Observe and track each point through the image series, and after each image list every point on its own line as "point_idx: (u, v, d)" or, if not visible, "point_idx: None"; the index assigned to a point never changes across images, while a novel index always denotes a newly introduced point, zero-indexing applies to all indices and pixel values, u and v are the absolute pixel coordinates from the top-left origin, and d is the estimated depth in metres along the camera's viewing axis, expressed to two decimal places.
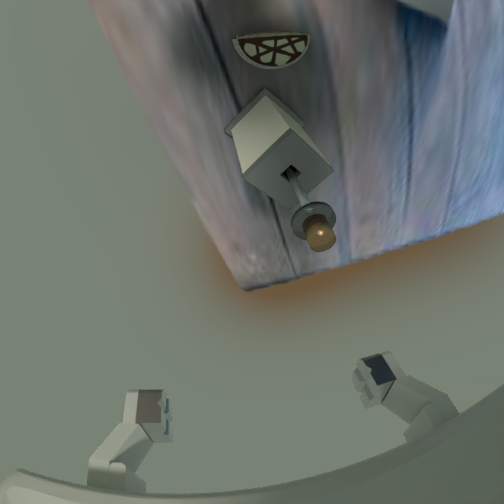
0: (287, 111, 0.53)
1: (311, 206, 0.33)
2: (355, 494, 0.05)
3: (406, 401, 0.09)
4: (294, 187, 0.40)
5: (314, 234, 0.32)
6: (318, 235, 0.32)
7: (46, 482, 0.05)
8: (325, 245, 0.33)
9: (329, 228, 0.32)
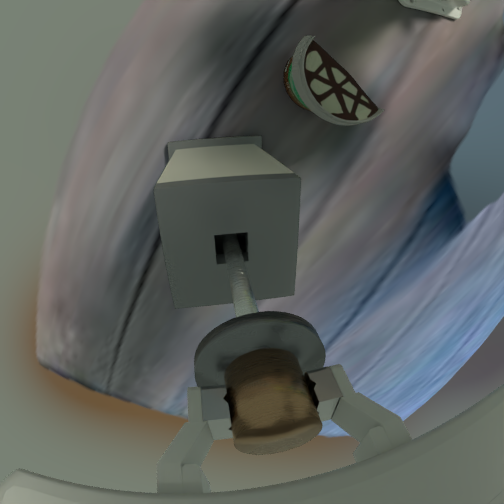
0: None
1: (299, 326, 0.11)
2: (355, 494, 0.05)
3: (354, 420, 0.09)
4: (235, 270, 0.18)
5: (281, 410, 0.08)
6: (293, 420, 0.08)
7: (46, 482, 0.05)
8: (274, 446, 0.09)
9: (316, 409, 0.09)
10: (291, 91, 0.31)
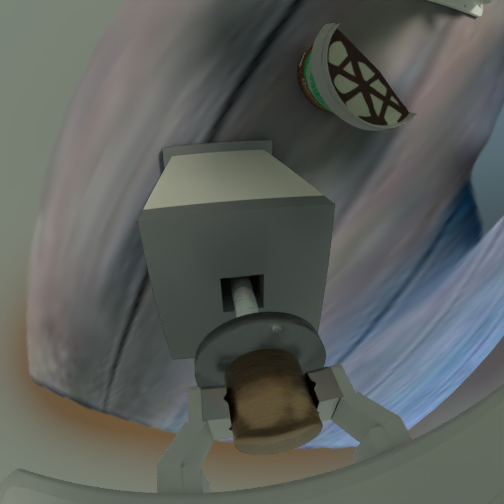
0: None
1: (299, 326, 0.11)
2: (355, 494, 0.05)
3: (355, 420, 0.09)
4: None
5: (281, 410, 0.08)
6: (293, 420, 0.08)
7: (46, 482, 0.05)
8: (274, 446, 0.09)
9: (316, 409, 0.09)
10: (307, 88, 0.26)
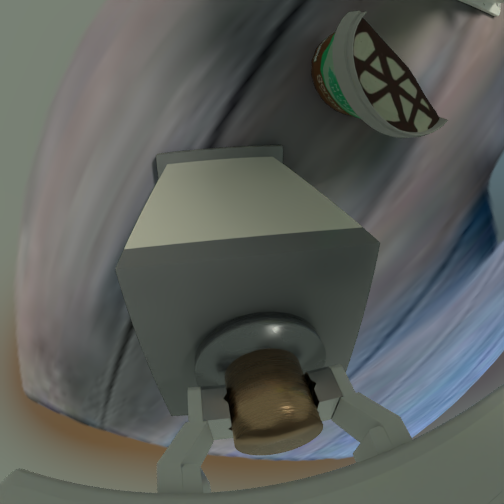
0: None
1: (300, 326, 0.11)
2: (355, 494, 0.05)
3: (354, 420, 0.09)
4: None
5: (282, 410, 0.08)
6: (294, 420, 0.08)
7: (46, 482, 0.05)
8: (274, 446, 0.09)
9: (316, 409, 0.09)
10: (324, 87, 0.23)
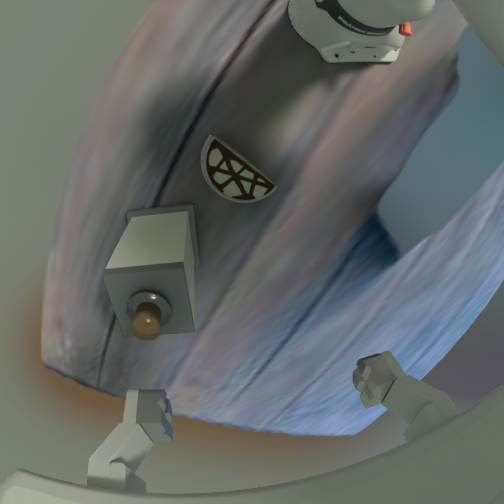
0: (193, 241, 0.51)
1: (156, 295, 0.32)
2: (355, 494, 0.05)
3: (406, 401, 0.09)
4: None
5: (143, 317, 0.30)
6: (146, 321, 0.30)
7: (46, 482, 0.05)
8: (146, 335, 0.30)
9: (158, 322, 0.31)
10: None
